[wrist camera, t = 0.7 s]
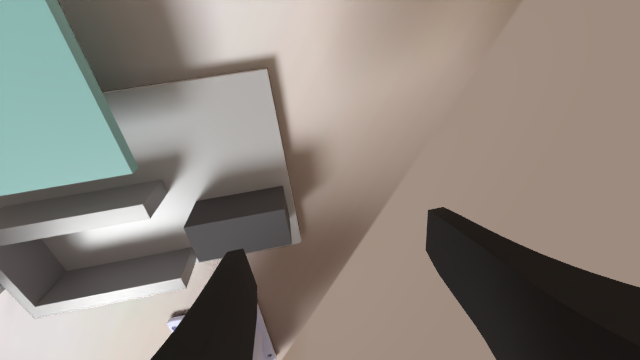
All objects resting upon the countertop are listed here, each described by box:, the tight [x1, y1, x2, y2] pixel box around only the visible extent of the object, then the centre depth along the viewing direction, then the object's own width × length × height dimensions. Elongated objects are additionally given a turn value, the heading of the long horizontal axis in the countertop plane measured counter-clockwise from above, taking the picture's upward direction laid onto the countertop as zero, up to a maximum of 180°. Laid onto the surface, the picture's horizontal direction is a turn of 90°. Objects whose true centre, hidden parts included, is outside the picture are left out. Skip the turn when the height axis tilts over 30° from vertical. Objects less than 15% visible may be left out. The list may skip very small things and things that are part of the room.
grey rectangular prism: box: [184, 186, 292, 262], centre depth 18 cm, size 3×6×3 cm, turn 97°
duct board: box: [0, 68, 302, 319], centre depth 17 cm, size 13×18×4 cm
